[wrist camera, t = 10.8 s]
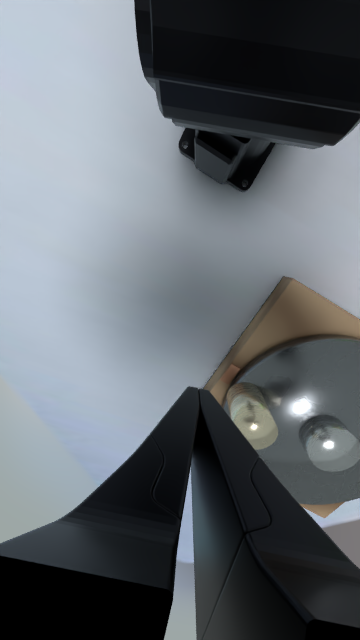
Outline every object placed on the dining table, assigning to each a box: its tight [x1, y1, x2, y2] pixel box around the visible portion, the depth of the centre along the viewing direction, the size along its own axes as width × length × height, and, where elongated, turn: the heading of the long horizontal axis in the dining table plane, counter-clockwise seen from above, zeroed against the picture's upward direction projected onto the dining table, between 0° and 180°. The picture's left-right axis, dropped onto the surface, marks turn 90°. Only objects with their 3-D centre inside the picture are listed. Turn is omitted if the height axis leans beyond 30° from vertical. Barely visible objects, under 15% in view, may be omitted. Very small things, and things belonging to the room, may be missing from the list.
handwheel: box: [221, 335, 360, 505], centre depth 18 cm, size 18×18×6 cm
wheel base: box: [203, 276, 360, 518], centre depth 22 cm, size 20×20×2 cm
